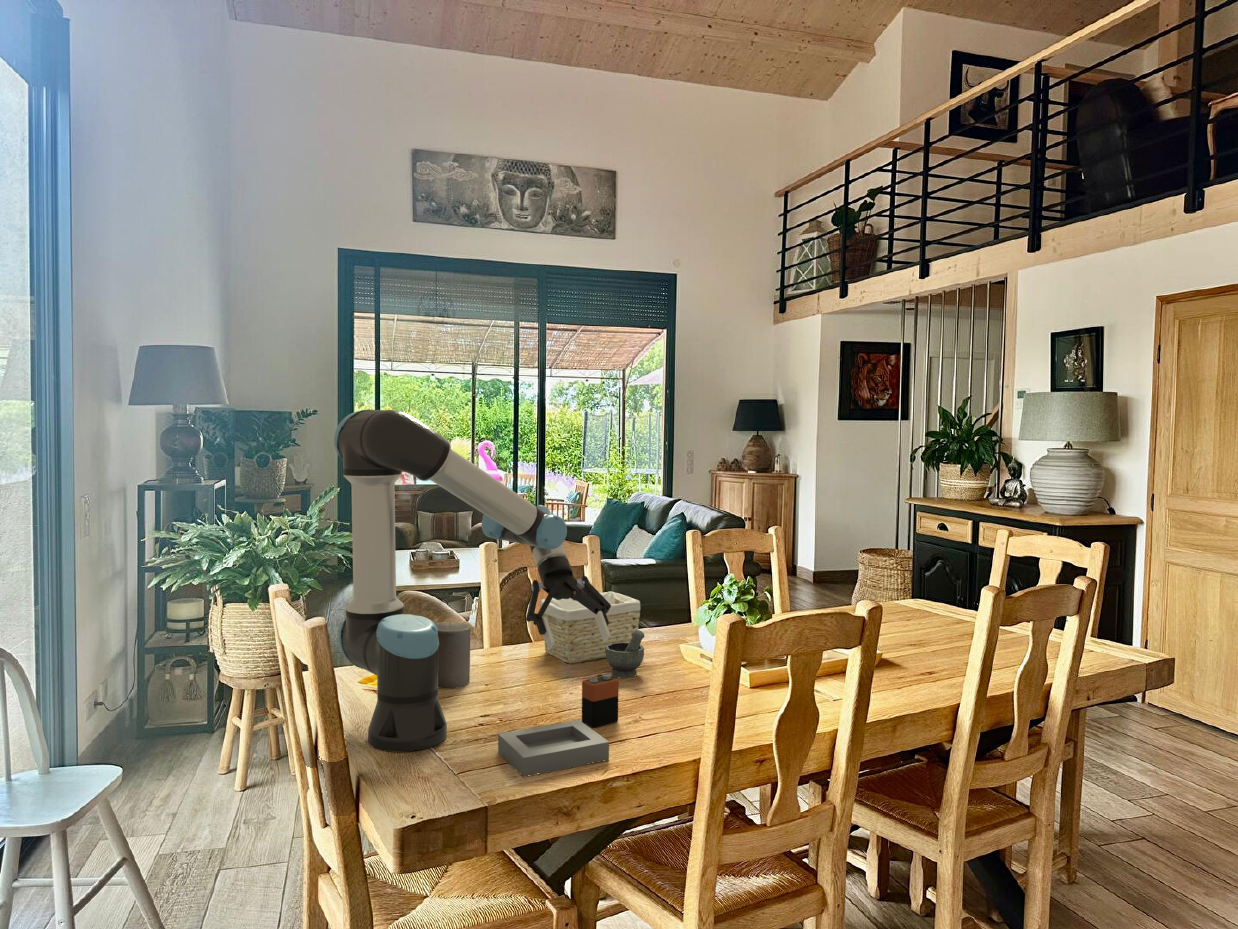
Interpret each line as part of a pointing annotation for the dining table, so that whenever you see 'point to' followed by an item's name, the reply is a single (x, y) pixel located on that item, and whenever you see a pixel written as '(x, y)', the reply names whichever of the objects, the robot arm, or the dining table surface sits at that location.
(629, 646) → the mortar and pestle
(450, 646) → the pillar candle
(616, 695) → the battery
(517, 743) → the tray
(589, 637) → the storage basket
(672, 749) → the dining table surface
